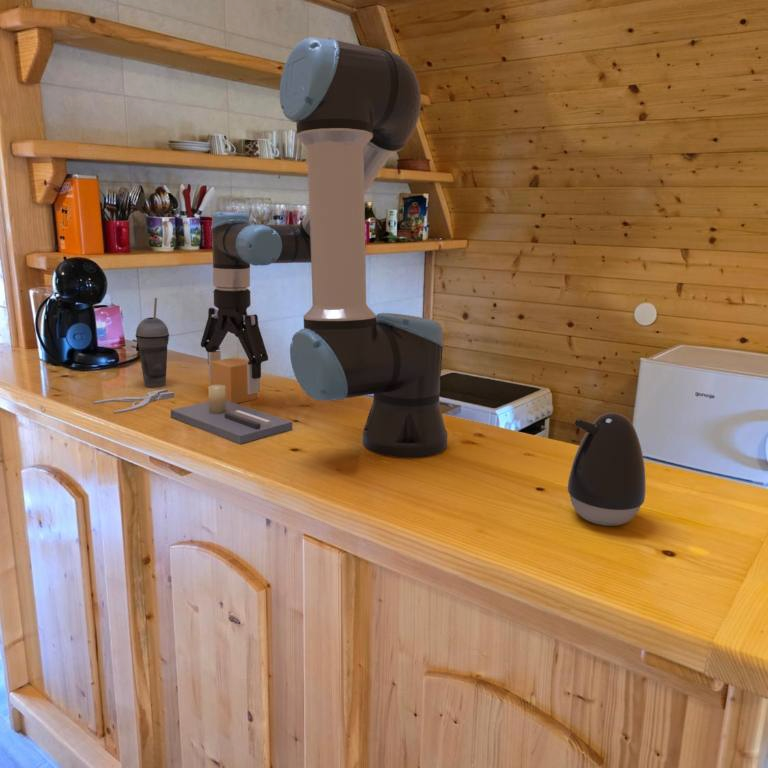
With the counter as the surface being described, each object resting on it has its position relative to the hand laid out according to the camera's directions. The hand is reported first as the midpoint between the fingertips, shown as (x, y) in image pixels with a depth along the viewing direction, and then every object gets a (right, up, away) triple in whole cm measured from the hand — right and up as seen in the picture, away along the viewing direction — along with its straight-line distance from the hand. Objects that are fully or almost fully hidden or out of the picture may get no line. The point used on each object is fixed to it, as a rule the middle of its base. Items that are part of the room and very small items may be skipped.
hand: (233, 386), depth 149 cm
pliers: (-19, -4, -4) cm, 20 cm away
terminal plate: (+3, -7, -17) cm, 18 cm away
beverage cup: (-20, 0, +9) cm, 22 cm away
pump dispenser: (+63, -18, -53) cm, 84 cm away
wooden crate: (0, -2, 0) cm, 3 cm away
